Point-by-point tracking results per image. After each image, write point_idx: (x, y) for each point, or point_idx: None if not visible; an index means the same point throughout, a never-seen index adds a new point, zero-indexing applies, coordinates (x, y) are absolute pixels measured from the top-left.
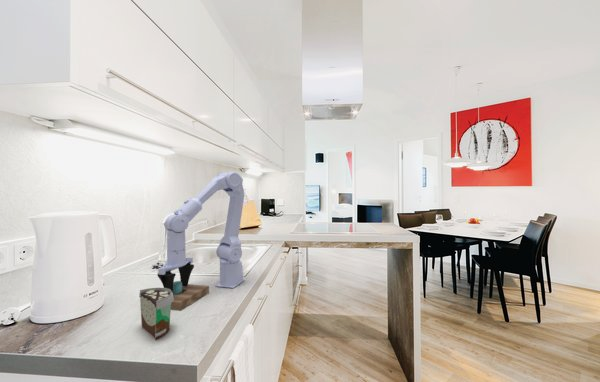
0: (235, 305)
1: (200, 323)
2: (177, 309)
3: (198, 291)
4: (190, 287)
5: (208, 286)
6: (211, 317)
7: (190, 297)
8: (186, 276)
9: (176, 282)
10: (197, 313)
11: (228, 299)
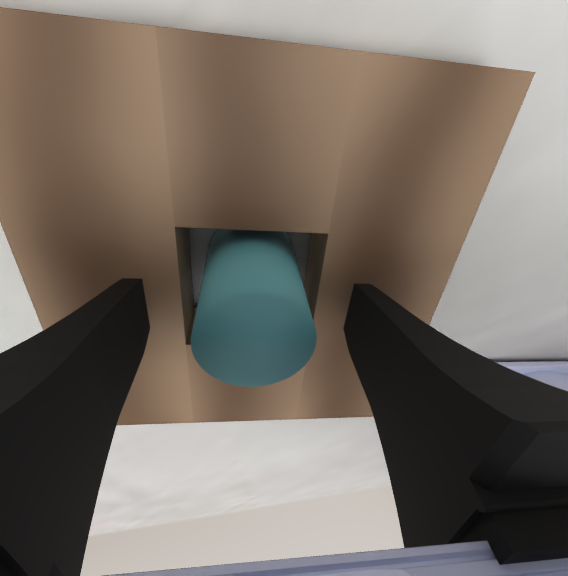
0: (241, 506)
1: None
2: None
3: (284, 414)
4: None
5: None
6: (111, 497)
7: (186, 419)
8: (377, 403)
9: (269, 337)
10: (115, 451)
11: (295, 472)
